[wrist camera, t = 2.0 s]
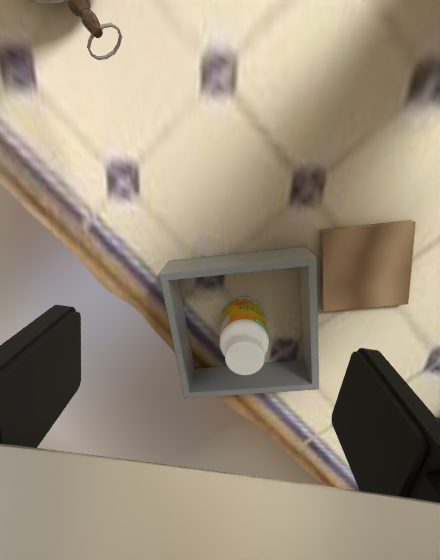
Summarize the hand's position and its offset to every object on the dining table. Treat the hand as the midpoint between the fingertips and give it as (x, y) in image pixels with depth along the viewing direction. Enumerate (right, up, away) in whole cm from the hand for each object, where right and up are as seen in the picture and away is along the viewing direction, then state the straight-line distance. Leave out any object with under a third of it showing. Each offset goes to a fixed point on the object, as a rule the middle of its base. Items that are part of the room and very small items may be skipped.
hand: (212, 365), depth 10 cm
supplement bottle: (+3, -2, +29) cm, 30 cm away
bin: (+3, -2, +29) cm, 29 cm away
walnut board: (+17, +4, +26) cm, 32 cm away
